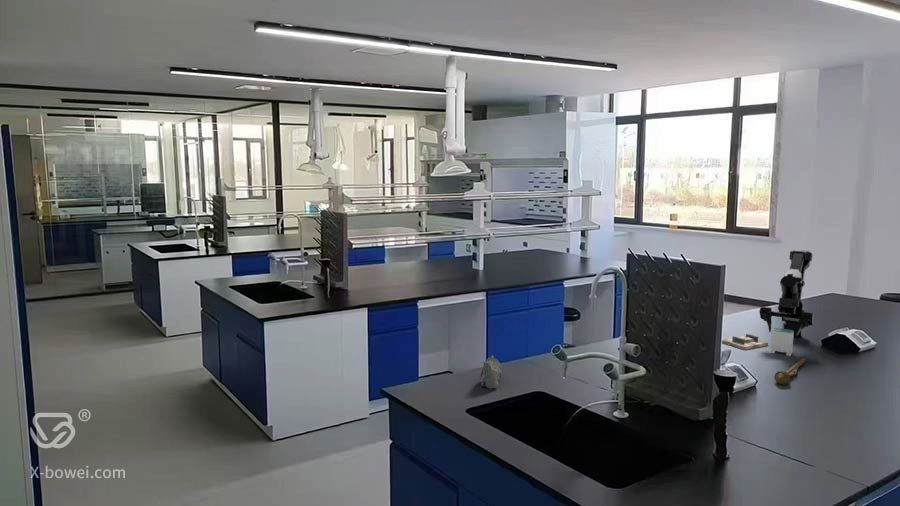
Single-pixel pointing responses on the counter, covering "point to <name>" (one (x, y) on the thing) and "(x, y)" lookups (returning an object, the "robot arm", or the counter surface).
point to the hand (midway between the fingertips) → (782, 333)
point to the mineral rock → (491, 373)
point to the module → (782, 340)
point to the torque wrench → (788, 373)
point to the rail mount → (745, 342)
